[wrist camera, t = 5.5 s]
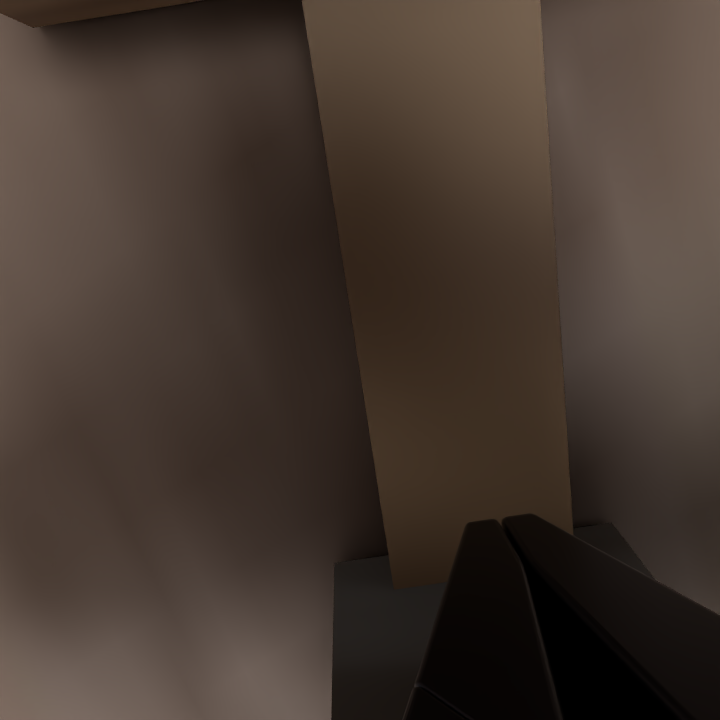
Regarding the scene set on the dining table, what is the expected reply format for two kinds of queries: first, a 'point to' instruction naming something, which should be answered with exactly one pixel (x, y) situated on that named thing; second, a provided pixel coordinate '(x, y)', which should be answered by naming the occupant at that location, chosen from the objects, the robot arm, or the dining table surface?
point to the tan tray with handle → (433, 298)
